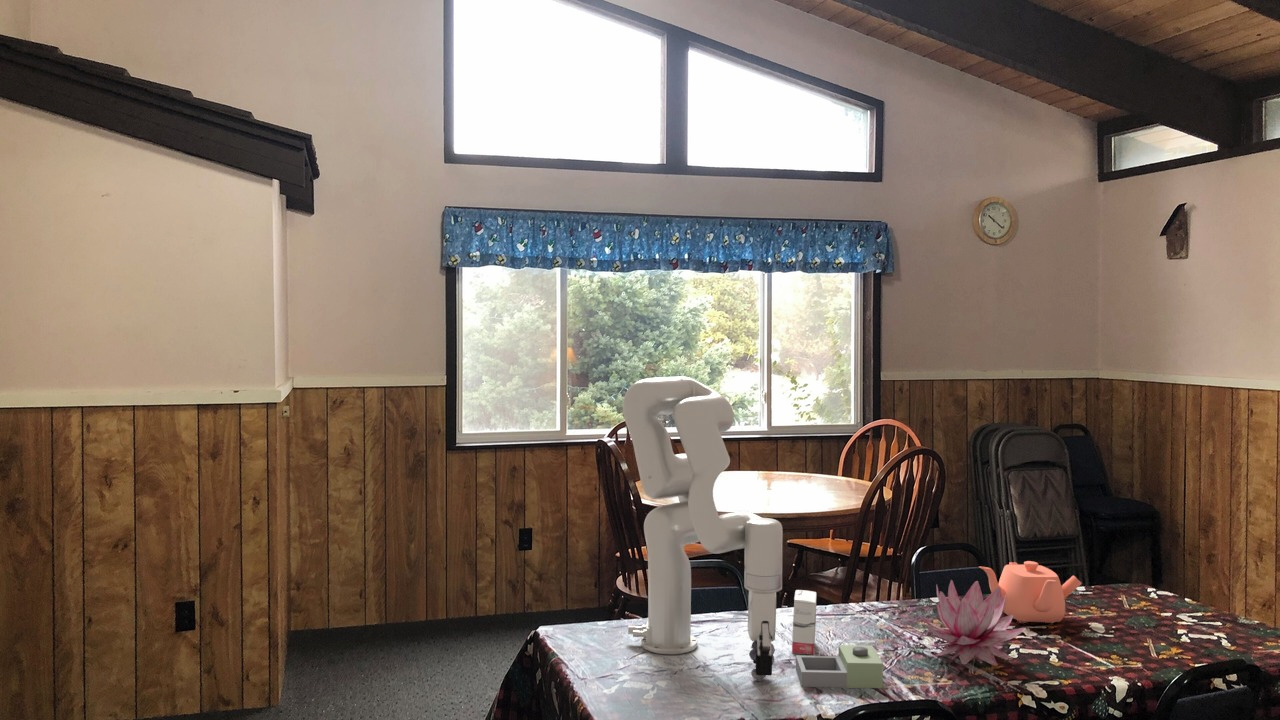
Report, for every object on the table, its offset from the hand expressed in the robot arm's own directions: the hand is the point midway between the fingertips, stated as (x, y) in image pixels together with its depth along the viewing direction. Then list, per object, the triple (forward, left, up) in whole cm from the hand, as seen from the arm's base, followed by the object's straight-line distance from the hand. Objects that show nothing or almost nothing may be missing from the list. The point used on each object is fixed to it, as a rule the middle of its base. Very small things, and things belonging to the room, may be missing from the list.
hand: (762, 668), depth 188 cm
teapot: (+69, +42, -3) cm, 81 cm away
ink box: (+11, +19, -3) cm, 22 cm away
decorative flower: (+46, +15, -3) cm, 48 cm away
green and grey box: (+15, +2, -2) cm, 16 cm away
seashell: (0, 0, -3) cm, 3 cm away
